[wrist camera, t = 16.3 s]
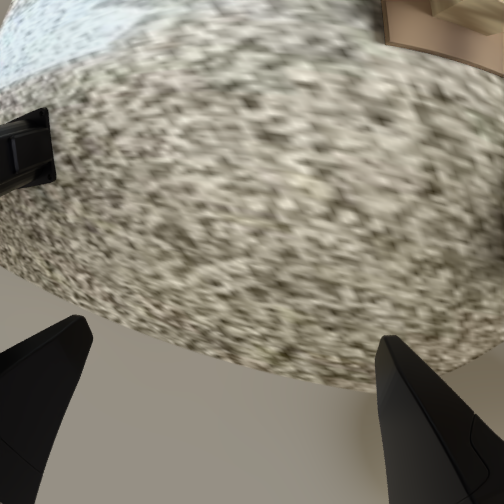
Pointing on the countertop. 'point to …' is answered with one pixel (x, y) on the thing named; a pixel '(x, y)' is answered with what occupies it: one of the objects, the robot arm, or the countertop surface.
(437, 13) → the pine block
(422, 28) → the walnut board
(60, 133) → the countertop surface
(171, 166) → the countertop surface
